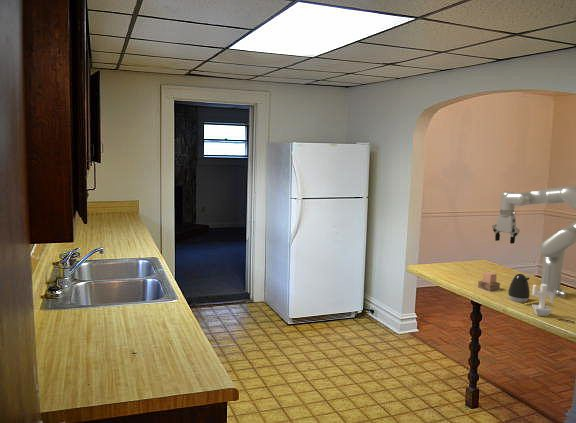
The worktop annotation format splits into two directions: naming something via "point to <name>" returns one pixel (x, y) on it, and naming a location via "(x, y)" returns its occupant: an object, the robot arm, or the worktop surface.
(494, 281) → the top cube
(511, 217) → the robot arm
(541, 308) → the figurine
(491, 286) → the base block
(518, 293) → the black penguin toy
